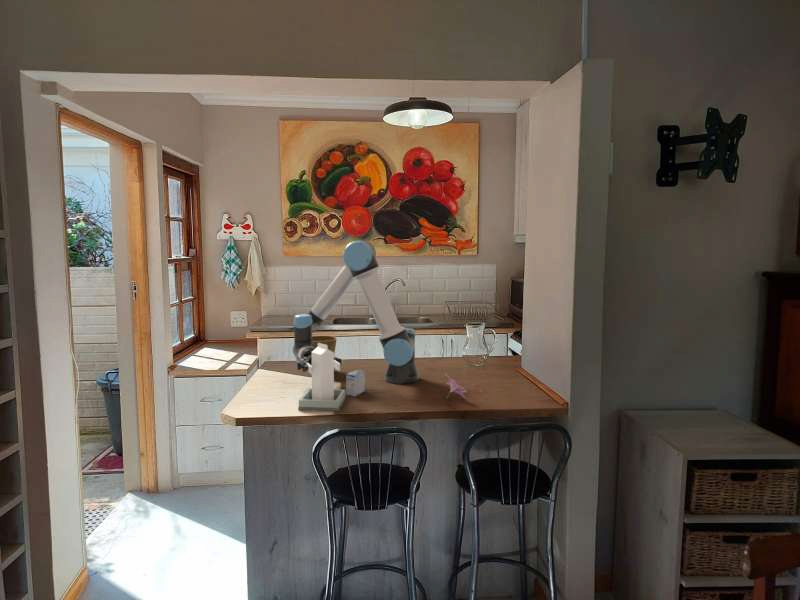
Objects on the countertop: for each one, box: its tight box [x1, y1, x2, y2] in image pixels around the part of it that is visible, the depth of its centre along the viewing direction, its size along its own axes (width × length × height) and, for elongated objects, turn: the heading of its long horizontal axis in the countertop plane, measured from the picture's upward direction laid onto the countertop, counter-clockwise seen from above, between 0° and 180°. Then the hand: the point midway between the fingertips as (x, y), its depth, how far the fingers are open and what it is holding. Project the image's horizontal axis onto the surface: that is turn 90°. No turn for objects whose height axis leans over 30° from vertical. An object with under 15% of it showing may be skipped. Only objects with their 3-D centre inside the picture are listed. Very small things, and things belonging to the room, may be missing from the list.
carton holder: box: [297, 388, 347, 412], centre depth 193 cm, size 15×15×4 cm
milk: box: [311, 343, 335, 400], centre depth 191 cm, size 6×6×22 cm
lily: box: [443, 372, 467, 400], centre depth 199 cm, size 12×12×10 cm
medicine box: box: [345, 369, 366, 397], centre depth 206 cm, size 8×4×9 cm, turn 155°
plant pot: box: [312, 335, 337, 353], centre depth 239 cm, size 15×15×16 cm
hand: (325, 368), depth 187 cm, fingers open, 10 cm apart
